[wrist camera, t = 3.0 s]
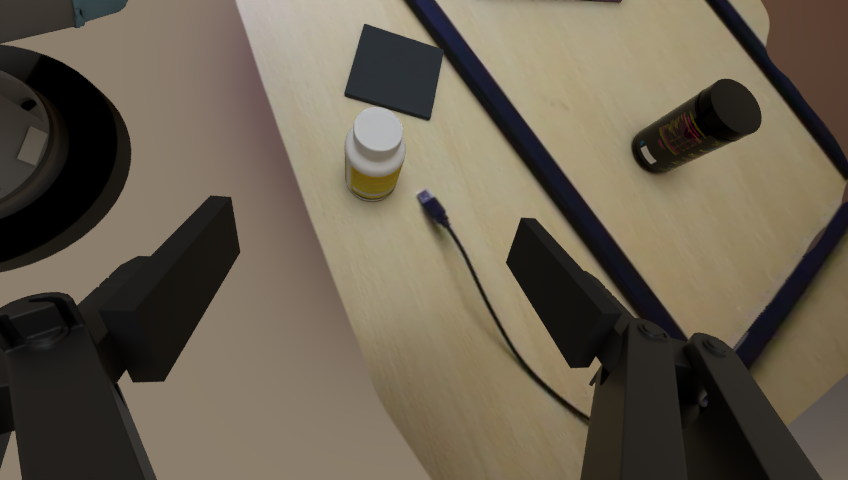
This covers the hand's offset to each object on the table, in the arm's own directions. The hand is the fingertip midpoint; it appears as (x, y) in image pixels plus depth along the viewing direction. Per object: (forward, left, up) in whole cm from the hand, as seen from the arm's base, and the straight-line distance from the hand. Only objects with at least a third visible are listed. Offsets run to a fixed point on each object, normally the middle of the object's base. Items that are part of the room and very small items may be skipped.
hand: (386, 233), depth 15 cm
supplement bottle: (-2, +11, -19) cm, 21 cm away
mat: (-2, +25, -18) cm, 31 cm away
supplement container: (+34, +25, -19) cm, 46 cm away
